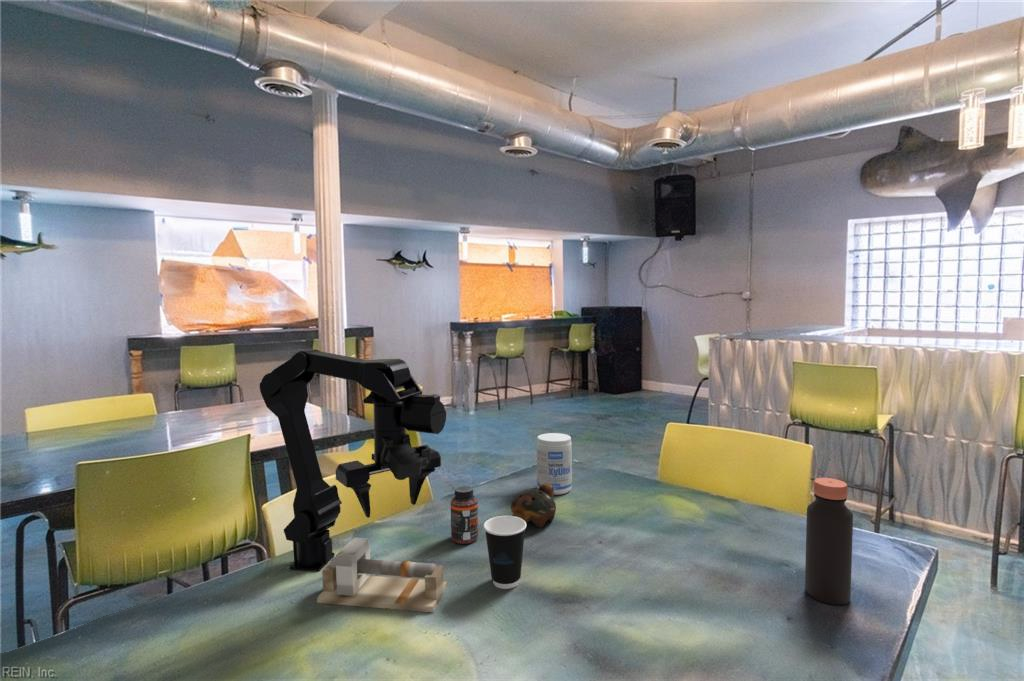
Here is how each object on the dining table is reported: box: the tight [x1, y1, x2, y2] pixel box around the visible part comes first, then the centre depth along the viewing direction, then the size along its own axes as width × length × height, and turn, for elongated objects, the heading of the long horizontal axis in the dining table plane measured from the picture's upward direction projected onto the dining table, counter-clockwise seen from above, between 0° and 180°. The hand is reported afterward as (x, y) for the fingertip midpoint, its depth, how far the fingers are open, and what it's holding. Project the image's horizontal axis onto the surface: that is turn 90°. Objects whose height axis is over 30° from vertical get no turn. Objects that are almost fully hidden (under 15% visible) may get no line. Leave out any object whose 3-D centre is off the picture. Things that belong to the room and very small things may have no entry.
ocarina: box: [510, 483, 557, 529], centre depth 121 cm, size 10×15×8 cm, turn 148°
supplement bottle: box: [450, 485, 479, 545], centre depth 114 cm, size 6×6×11 cm
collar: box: [334, 537, 372, 596], centre depth 93 cm, size 3×7×7 cm, turn 171°
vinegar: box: [804, 477, 854, 606], centre depth 89 cm, size 7×7×20 cm
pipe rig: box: [316, 556, 448, 613], centre depth 93 cm, size 21×8×6 cm, turn 81°
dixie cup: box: [482, 515, 527, 590], centre depth 96 cm, size 8×8×11 cm
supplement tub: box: [536, 432, 573, 496], centre depth 142 cm, size 10×10×15 cm
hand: (391, 510), depth 97 cm, fingers open, 9 cm apart
